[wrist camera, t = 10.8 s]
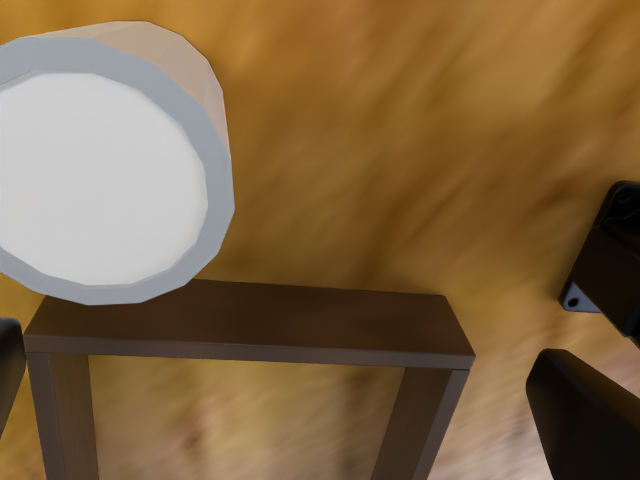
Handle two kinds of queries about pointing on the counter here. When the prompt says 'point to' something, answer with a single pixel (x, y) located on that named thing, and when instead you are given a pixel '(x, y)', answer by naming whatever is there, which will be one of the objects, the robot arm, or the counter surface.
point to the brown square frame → (252, 356)
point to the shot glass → (110, 162)
